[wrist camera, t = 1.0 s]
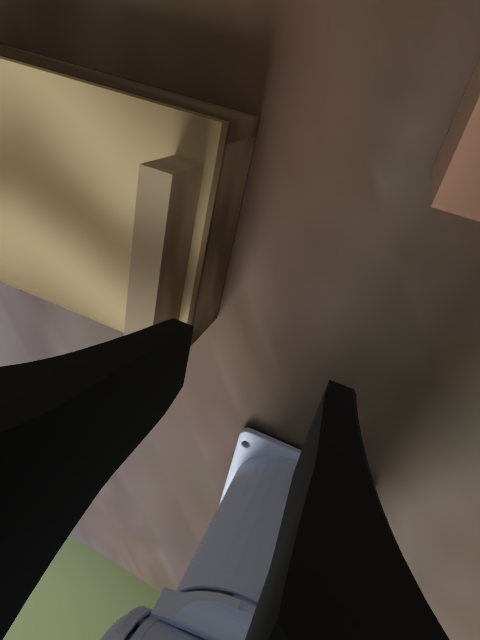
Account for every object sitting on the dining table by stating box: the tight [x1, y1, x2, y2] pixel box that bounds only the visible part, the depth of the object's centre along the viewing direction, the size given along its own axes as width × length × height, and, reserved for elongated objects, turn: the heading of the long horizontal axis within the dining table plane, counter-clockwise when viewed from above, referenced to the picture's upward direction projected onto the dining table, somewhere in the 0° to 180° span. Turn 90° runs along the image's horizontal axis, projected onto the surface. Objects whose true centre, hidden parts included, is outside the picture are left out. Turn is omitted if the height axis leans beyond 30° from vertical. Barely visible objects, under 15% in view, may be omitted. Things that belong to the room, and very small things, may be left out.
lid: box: [0, 56, 229, 336], centre depth 19 cm, size 10×14×3 cm
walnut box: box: [0, 44, 260, 346], centre depth 21 cm, size 10×14×3 cm
